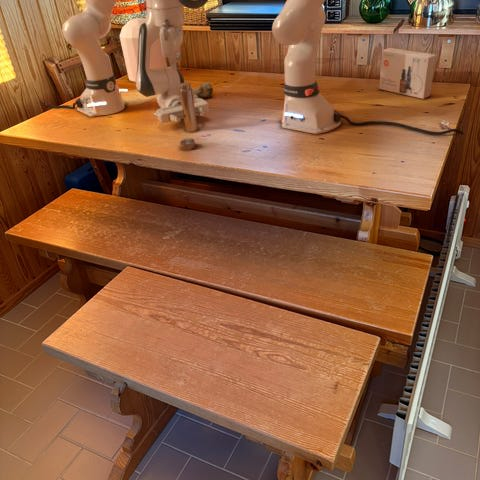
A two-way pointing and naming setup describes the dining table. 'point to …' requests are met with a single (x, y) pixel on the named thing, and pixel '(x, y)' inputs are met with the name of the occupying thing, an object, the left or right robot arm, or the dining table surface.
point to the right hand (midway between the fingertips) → (176, 65)
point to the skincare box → (407, 72)
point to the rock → (203, 90)
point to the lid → (187, 144)
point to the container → (130, 48)
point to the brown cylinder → (188, 107)
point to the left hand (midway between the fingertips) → (190, 116)
